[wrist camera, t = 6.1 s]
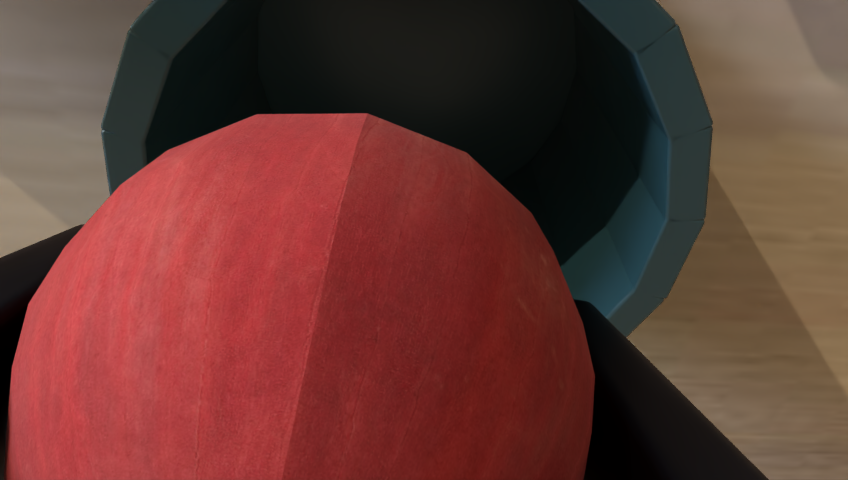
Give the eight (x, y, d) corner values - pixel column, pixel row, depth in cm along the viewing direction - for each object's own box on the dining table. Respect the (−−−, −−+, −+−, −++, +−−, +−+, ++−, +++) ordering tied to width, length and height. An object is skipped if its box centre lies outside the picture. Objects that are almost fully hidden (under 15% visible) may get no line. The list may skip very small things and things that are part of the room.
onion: (580, 290, 11) (805, 1037, 4) (291, 374, 12) (111, 1043, 5) (465, -45, 8) (608, 698, 1) (98, 114, 9) (-813, 889, 2)
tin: (160, -49, 18) (-44, 51, 10) (550, -224, 16) (666, -267, 8) (330, 251, 24) (281, 458, 16) (630, 158, 22) (741, 348, 14)
